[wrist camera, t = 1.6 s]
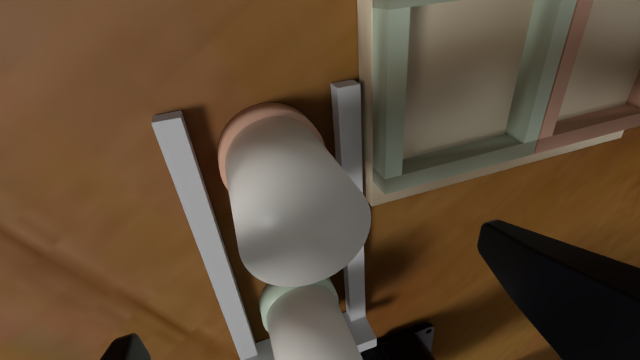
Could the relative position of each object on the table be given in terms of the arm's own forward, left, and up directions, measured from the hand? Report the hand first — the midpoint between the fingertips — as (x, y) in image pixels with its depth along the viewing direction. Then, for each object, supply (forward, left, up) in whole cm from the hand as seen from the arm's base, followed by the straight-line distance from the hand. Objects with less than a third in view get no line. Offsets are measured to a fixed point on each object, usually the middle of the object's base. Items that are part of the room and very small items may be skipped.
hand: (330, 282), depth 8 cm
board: (+2, -12, -8) cm, 15 cm away
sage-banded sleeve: (-9, 0, -8) cm, 12 cm away
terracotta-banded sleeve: (0, 0, -8) cm, 8 cm away
